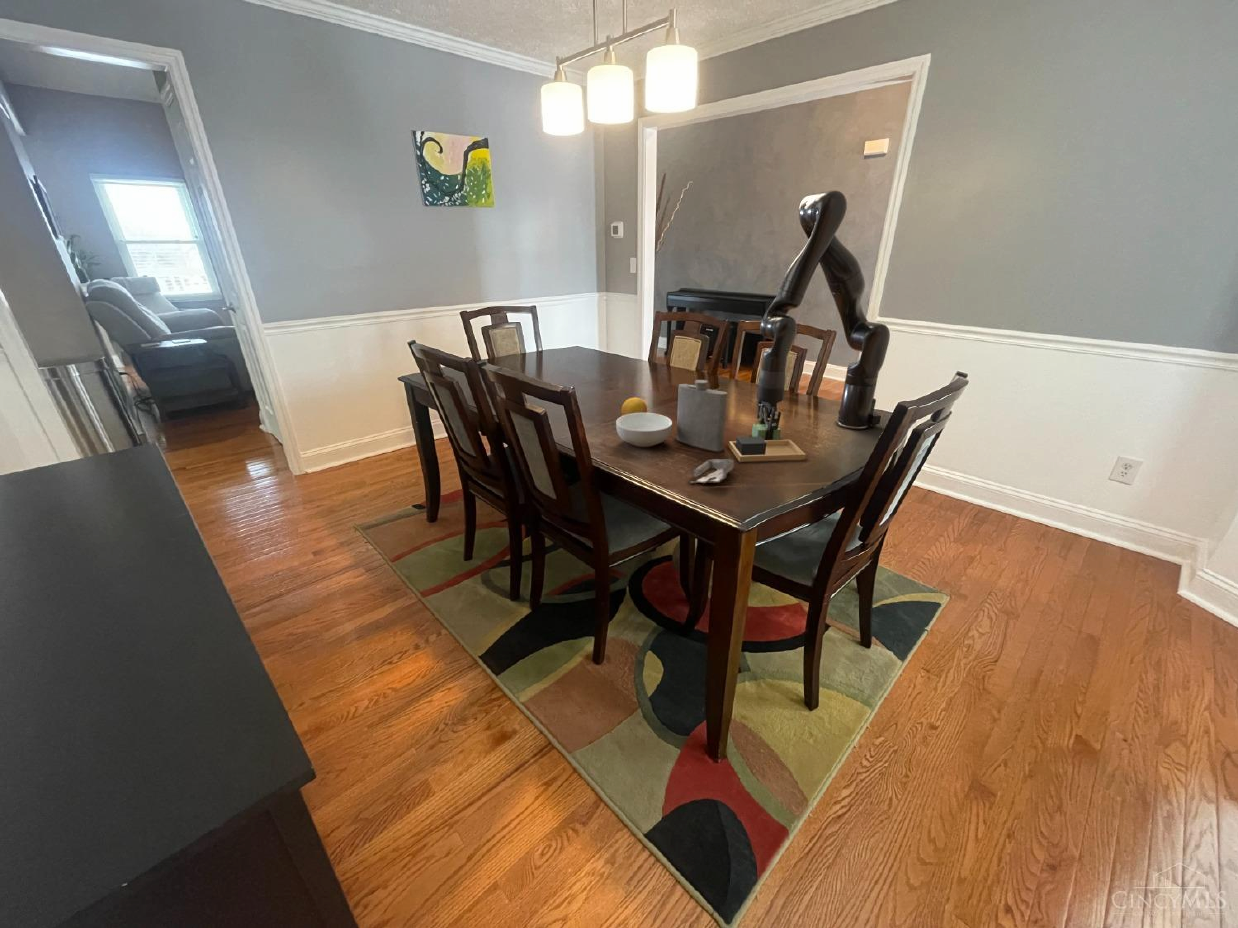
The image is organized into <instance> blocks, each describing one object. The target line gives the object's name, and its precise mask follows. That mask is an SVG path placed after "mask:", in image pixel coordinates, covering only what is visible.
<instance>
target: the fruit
mask: <svg viewBox="0 0 1238 928" xmlns="http://www.w3.org/2000/svg"><path fill="white" fill-rule="evenodd" d="M632 413H648V406H647V403H646V401H644V400H643V399H642V398H640V397H630V398H628V399H626V400H625V401H624V403H623V404H622V406H621V416H624V415H627V414H632Z"/></svg>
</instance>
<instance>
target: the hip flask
mask: <svg viewBox="0 0 1238 928" xmlns="http://www.w3.org/2000/svg"><path fill="white" fill-rule="evenodd" d="M708 385H709V383H708V380H706V379H695V381H694V384H688V383H680V384H678V390H677V391H678V394H677V414H676V415H677V416H676V437H675V438H676V441H677V442H678V441H679V442H681V443H683V444H687V445H689V446H691V447H692V446H693V447H695V448H696V447H697V448H700V449H703V450H708V451H713V452H722V451H723V450H724V449H723V448H724V438H725V425H726V414H727V413H726V412H727V401H728V392H727V391H722V390H716V389H709V388H708Z"/></svg>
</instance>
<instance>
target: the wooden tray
mask: <svg viewBox="0 0 1238 928" xmlns="http://www.w3.org/2000/svg"><path fill="white" fill-rule="evenodd" d="M764 441H765V442H766V443H767V444H766V452H765V455H741V453H740V452H739V451H738V449H737V448H736V440H734V441H733V440H732V441H728V448H729V449H730V450H731V452H732V453H733V455H734V456H735V458H736V459H737V460H738V462H739V463H742V462H743V463H744V462H770V461H772V462H773V461H774V462H775V461H802V460H806V458H807V457H806V456H807V454H806V453H805V452H804V451H803V450H802V449H801V448H800V447H799V446H798V445H796V443H795V442H794V441H792V440H791V439H780V440H764Z"/></svg>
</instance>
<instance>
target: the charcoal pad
mask: <svg viewBox="0 0 1238 928" xmlns="http://www.w3.org/2000/svg"><path fill="white" fill-rule="evenodd" d="M735 438H736V439H735V441H736V448H737V449H738V451H739V452H740V453H741V455H765V452H766V444H767V443H766V442H765V441H764V440H763V439H762V438H761V437H760V436H756V437H753V436H736V437H735Z"/></svg>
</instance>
